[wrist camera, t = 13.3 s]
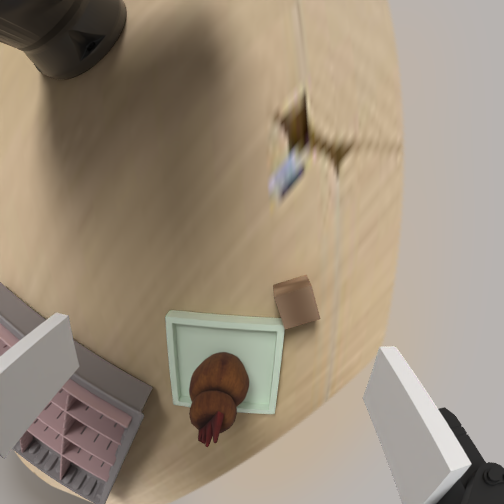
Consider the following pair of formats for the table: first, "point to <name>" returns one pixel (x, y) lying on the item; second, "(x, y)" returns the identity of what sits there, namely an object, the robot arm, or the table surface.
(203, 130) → the table surface
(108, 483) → the organizer tray
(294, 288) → the walnut cube
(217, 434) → the wooden figurine
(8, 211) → the table surface
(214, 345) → the green tray
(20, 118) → the table surface
